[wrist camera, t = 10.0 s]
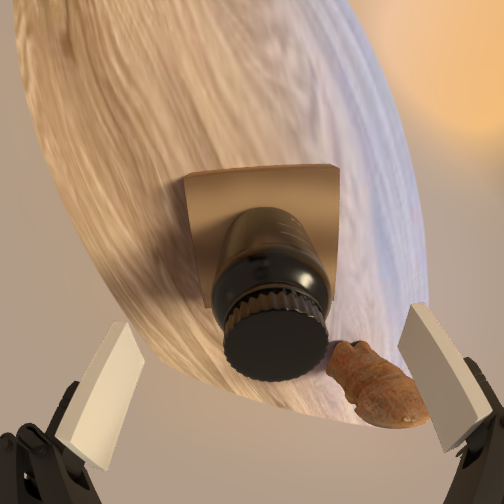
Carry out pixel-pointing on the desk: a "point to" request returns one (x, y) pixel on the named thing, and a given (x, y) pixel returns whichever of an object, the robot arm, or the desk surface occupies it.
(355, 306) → the desk surface
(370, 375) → the figurine
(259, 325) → the supplement bottle
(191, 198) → the pedestal
